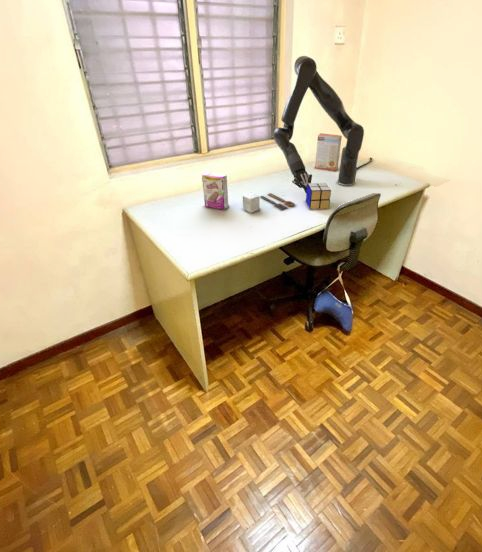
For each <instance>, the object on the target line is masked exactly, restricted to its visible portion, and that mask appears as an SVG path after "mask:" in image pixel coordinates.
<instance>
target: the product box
mask: <svg viewBox="0 0 482 552" xmlns="http://www.w3.org/2000/svg"><path fill="white" fill-rule="evenodd" d="M260 204H261V203H260V195H258V194H255V193H253V192H249V193H246V194H244V195H242V210H244V211H246V212H248V213H250V214H252V213H254V212H256V211H260V209H261V208H260V207H261V205H260Z"/></svg>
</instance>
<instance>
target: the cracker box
mask: <svg viewBox="0 0 482 552" xmlns="http://www.w3.org/2000/svg"><path fill="white" fill-rule="evenodd" d="M342 137H343V135H340V134H329V133H319V134H317V142H316V153H315V162H314V163H315V164H314V169H319V170H324V171H332V172H336V171H337V170H338V168H339V161H340V154H341V153H340V152H341V147H342Z"/></svg>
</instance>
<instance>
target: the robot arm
mask: <svg viewBox="0 0 482 552" xmlns="http://www.w3.org/2000/svg"><path fill="white" fill-rule="evenodd" d="M293 67H294V72H295V75H296V81H295V85H294V88H293V90H292V92H291V94H290V95H289V97H288V99H287V101H286V103H285V106H284V109H283V110H282V111H283V112H282V115H281V118H280V119H281V122H282V123H283V127H276V128H275V129H274V131H273V133H272V135H273V136H272V137H273V140H274V142H275V144H276V145H277V147H278V148H279V149H280V151H282V153H283V156H284V158H285V160H286V163H287V165H288V168H289V170H290V173H291V174H292V176H293V179H292V180H291V182H292V184H294V185H295V186H297V188H299V189H303V190H304V193H305V194H306V193H307V184H308V183H312V181H313V179H312V178H313V175H312V174H308V171H306V166H305V163H304V162H303V159H302V157H301V155H300V153H299V151H298V149H297V147H296V145H295V144H294V143H293V142H291V140H292V138H293V135H294V130H295V129H294V128H295V122H296V119H297V117H298V113H299V112H300V111H299V110H300V108H301V105H302V102H303V100H304V97H305V96H306V94H307V91H308V90H310V91H311V93H312V95H313V97H314V98H315V99H316V101H317V102H318V104H319V105H320V107H321V108H322V109H323V111H324V112H325V113H326V114H327V115H328V117H329V118H330V119H331V120H332V121H333V122H334V123H335V124H336V126H337V128H338V129H339V131H340V132H341V134H342V137H344V138H345V139H346V143H345V146H343V147H342V150H341V156H340V157H341V158H340V163H339V165H340V166H339V170H338V171H339V172H338V177H337V178H338V179H337V184H338V185H340V186H344V187H350V186H354V184H355V183H356V176H357V170H359V169H360V168H362V167H364V166H366V165H369V164H370V163H371V162H372V160H373V159H372V158H371V157H370V158H369V159H370V160H369V161H368V162H366V163H364V164H361V165H359V166H358V160H359V153H360V152H361V149H362V145H363V141H364V135H365V129H364V127H363V126H362V125H361V124H359V123H358V122H356V121H354V120H353V118H351V116H350V115H349V114H348V113H347V111H346V109H345V105H344V102H343V101H342V99H341V97H340V96H339V95H338V93H337V92H336V91H335V89H334V88H333V87H332V86H331V85H330V84H329V83H328V82H327V81H326V80H324V79H323V77H322V76H321V75H320V74H319V72H318V71H317V70H318V69H317V67H318V66H317V62H316V61H315V60H314V58H312V57H310V56H308V55H301V56H299V57H298V58H296V60H295V61H294V66H293ZM357 166H358V167H357Z"/></svg>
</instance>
